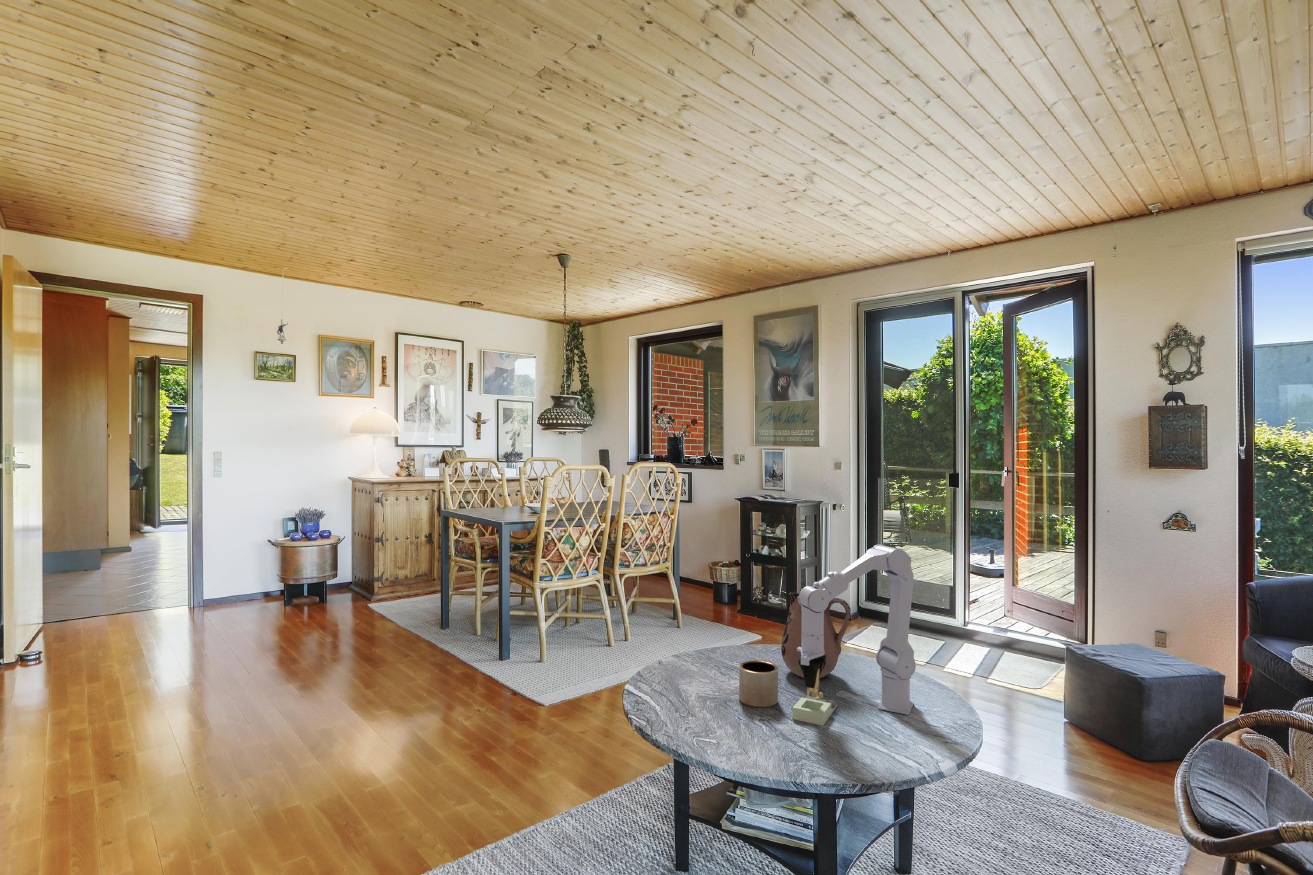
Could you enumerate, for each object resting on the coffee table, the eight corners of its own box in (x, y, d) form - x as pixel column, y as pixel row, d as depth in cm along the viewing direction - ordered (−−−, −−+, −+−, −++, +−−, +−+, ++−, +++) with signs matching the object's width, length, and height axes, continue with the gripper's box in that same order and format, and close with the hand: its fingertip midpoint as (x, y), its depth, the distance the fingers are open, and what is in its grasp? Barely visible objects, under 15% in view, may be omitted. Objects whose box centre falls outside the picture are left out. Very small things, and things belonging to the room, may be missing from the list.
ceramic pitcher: (784, 662, 211) (785, 586, 212) (851, 669, 205) (851, 591, 205) (777, 680, 195) (778, 597, 195) (849, 688, 188) (850, 603, 189)
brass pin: (808, 691, 170) (809, 665, 170) (819, 693, 169) (820, 667, 169) (805, 695, 167) (806, 668, 167) (817, 697, 166) (818, 670, 166)
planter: (731, 697, 181) (731, 663, 181) (762, 691, 186) (762, 657, 186) (754, 711, 171) (754, 675, 171) (786, 704, 176) (786, 669, 176)
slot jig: (807, 700, 179) (807, 688, 179) (838, 707, 174) (838, 694, 175) (792, 718, 166) (792, 705, 166) (824, 726, 162) (824, 712, 162)
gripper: (805, 624, 177) (805, 673, 176) (789, 637, 164) (788, 690, 164) (831, 628, 173) (830, 678, 173) (816, 641, 161) (816, 696, 160)
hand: (812, 685), depth 168 cm, fingers closed on brass pin, 3 cm apart
